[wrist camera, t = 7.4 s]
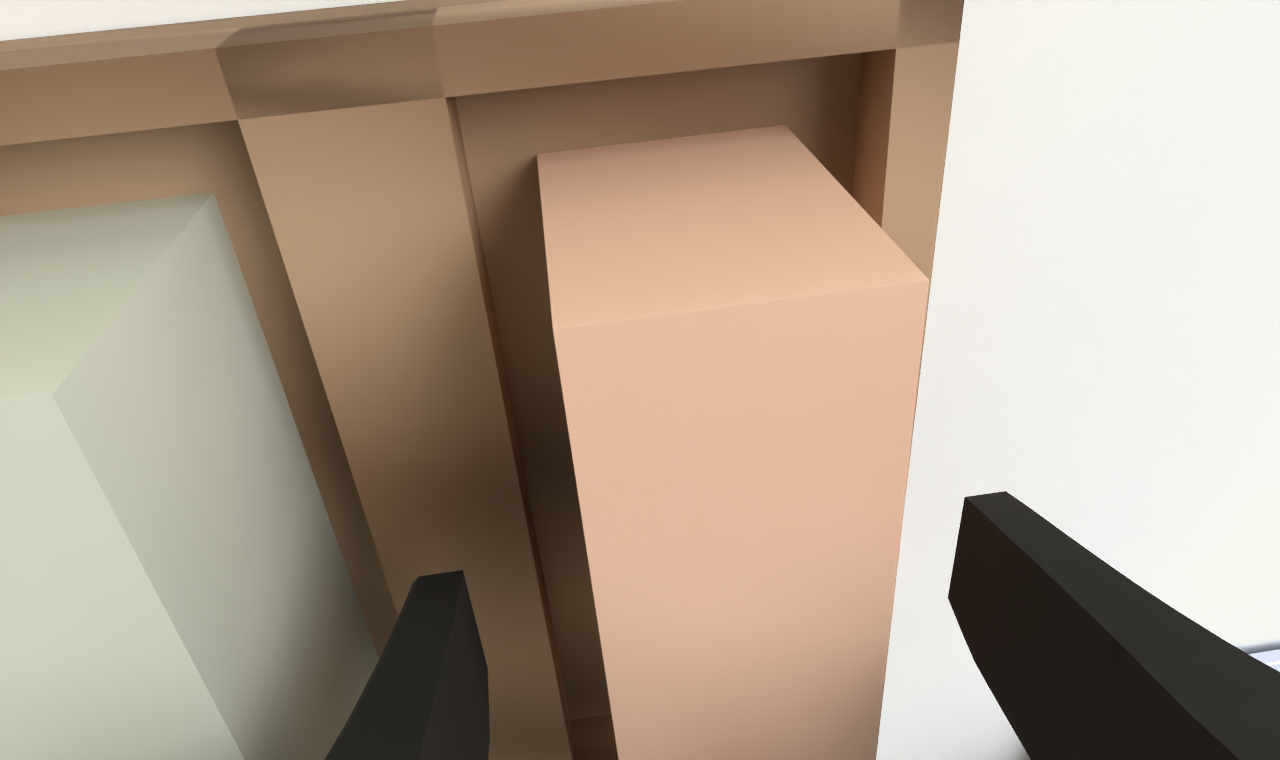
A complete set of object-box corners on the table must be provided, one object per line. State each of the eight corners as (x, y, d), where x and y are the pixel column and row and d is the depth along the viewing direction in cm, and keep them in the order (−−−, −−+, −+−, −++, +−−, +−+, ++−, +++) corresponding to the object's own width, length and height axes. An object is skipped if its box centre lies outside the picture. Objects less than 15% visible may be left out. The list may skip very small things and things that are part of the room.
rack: (844, 669, 20) (875, 746, 18) (176, 774, 19) (145, 866, 17) (903, -51, 12) (967, -29, 10) (-254, 66, 11) (-391, 110, 9)
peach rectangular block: (779, 649, 18) (860, 895, 14) (612, 675, 18) (645, 933, 14) (785, 124, 12) (929, 280, 8) (536, 154, 12) (553, 329, 8)
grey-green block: (396, 709, 18) (363, 983, 14) (219, 737, 18) (130, 1023, 13) (213, 191, 12) (52, 395, 8) (-60, 222, 12) (-381, 449, 7)
